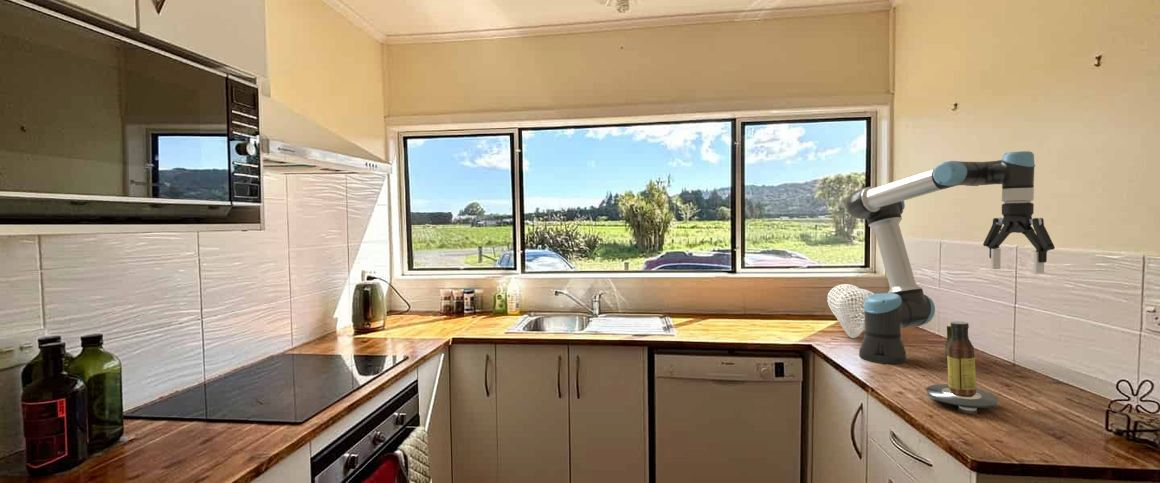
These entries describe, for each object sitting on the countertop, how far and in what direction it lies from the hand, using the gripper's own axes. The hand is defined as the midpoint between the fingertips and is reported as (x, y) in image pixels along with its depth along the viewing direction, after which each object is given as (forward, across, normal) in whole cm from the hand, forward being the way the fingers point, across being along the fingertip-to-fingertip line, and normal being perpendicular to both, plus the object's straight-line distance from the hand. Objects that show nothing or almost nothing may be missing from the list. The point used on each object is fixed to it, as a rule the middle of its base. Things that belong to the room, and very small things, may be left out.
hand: (1016, 271), depth 160 cm
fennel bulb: (+35, +25, -3) cm, 43 cm away
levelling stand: (+35, -13, +32) cm, 49 cm away
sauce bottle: (+32, -13, +32) cm, 47 cm away
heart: (+35, +62, +10) cm, 72 cm away
